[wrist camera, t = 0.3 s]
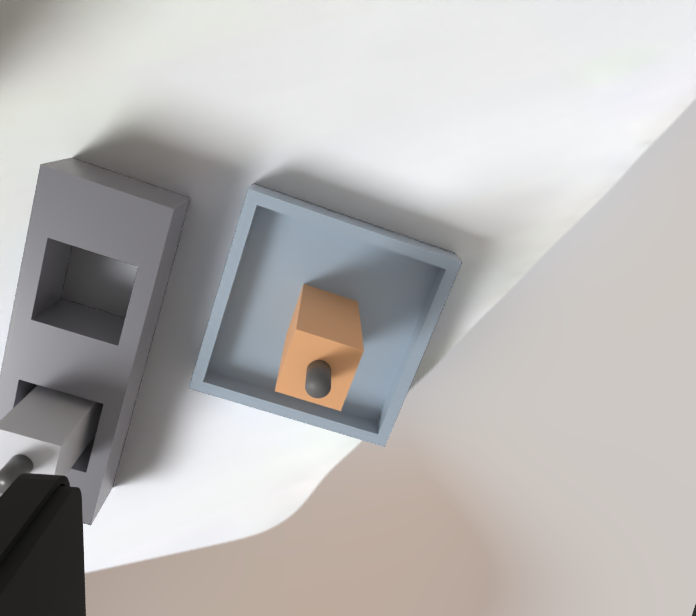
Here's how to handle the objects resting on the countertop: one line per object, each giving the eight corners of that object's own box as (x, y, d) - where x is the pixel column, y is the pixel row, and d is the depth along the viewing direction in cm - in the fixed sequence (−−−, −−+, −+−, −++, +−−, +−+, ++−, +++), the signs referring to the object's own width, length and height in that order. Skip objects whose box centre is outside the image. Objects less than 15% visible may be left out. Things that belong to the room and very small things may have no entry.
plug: (303, 283, 43) (293, 342, 32) (358, 301, 43) (365, 365, 33) (286, 334, 44) (271, 407, 33) (339, 351, 44) (341, 428, 34)
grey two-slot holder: (71, 157, 40) (40, 164, 36) (190, 198, 41) (173, 208, 37) (9, 459, 47) (-23, 495, 43) (112, 488, 48) (90, 525, 44)
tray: (253, 183, 41) (248, 188, 39) (454, 253, 43) (461, 262, 41) (196, 372, 45) (188, 388, 43) (382, 428, 47) (384, 446, 45)
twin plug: (57, 365, 45) (-26, 445, 35) (112, 381, 46) (46, 464, 35) (47, 412, 46) (-36, 502, 36) (100, 427, 47) (33, 520, 36)
